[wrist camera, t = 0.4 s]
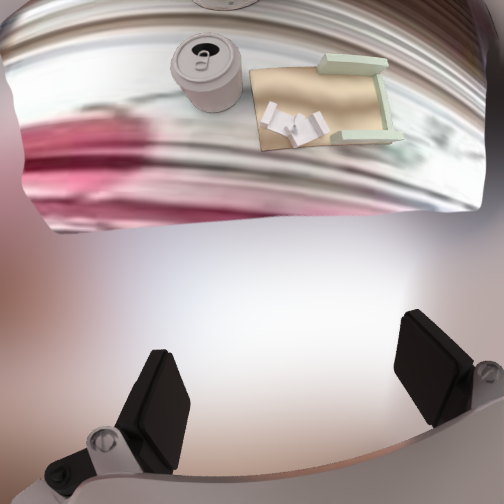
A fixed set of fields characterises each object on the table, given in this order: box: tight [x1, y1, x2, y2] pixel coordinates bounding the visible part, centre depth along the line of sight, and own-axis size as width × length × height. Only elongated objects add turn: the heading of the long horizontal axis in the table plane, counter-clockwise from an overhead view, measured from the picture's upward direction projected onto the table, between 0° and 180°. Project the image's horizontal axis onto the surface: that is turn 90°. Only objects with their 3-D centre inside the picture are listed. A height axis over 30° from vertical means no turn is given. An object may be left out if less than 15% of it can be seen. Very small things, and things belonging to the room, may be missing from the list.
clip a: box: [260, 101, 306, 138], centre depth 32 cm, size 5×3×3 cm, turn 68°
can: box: [170, 33, 242, 112], centre depth 27 cm, size 8×8×12 cm
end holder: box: [317, 53, 404, 144], centre depth 30 cm, size 12×10×5 cm
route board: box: [249, 67, 392, 151], centre depth 33 cm, size 12×20×1 cm, turn 98°
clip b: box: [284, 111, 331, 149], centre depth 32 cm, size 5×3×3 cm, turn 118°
